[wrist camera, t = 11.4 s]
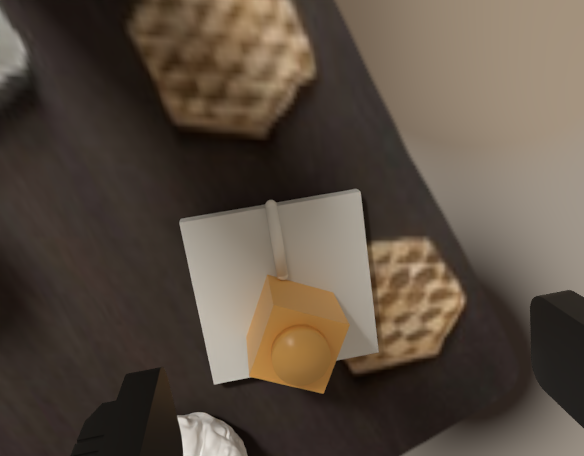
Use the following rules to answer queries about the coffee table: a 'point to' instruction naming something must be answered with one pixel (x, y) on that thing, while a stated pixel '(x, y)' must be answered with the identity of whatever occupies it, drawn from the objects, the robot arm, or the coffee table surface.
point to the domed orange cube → (295, 335)
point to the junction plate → (278, 269)
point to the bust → (208, 436)
